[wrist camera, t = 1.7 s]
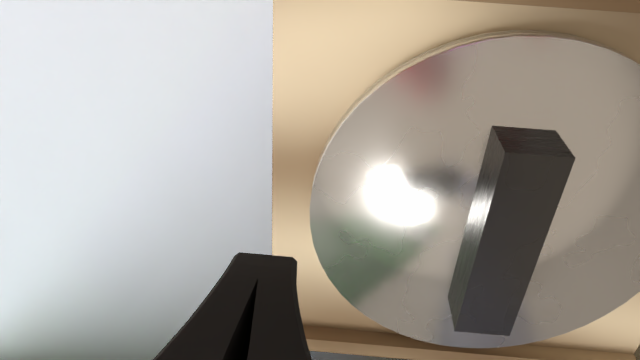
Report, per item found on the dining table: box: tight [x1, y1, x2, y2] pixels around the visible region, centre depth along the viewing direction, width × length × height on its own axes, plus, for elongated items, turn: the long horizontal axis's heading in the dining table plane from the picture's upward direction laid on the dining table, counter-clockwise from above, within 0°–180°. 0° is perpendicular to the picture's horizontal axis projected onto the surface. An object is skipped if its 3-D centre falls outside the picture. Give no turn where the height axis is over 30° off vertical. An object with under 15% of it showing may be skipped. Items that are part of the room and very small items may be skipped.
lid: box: [310, 30, 640, 348], centre depth 14 cm, size 11×11×2 cm
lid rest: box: [272, 0, 640, 360], centre depth 17 cm, size 13×13×5 cm
